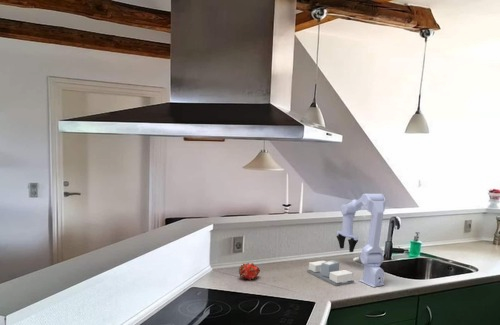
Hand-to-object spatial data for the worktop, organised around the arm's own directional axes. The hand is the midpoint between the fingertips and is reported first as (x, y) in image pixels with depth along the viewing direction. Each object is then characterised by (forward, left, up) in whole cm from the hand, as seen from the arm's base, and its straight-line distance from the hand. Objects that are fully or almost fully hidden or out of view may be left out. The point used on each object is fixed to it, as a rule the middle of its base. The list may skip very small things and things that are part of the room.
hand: (346, 250), depth 206 cm
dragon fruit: (+4, +59, -10) cm, 60 cm away
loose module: (-10, +20, -8) cm, 23 cm away
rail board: (-10, +20, -9) cm, 24 cm away
